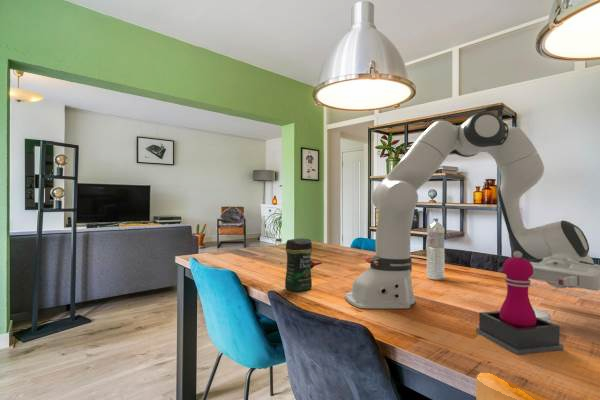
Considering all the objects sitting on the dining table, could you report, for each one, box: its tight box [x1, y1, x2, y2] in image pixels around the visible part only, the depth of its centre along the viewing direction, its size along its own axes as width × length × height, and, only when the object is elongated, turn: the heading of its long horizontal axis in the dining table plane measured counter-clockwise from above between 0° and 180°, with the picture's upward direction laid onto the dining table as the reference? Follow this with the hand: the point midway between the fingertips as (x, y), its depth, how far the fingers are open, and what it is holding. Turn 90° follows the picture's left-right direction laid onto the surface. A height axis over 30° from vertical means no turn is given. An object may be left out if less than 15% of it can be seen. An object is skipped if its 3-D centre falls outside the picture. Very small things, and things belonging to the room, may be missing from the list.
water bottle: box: [426, 218, 446, 281], centre depth 134 cm, size 7×7×25 cm
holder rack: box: [475, 310, 565, 356], centre depth 75 cm, size 12×12×5 cm
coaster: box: [532, 306, 552, 323], centre depth 86 cm, size 10×10×4 cm
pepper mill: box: [499, 251, 537, 328], centre depth 75 cm, size 7×7×20 cm
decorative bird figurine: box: [310, 259, 323, 270], centre depth 141 cm, size 3×18×10 cm, turn 49°
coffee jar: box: [284, 238, 313, 292], centre depth 118 cm, size 10×8×19 cm
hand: (539, 277), depth 82 cm, fingers open, 8 cm apart
